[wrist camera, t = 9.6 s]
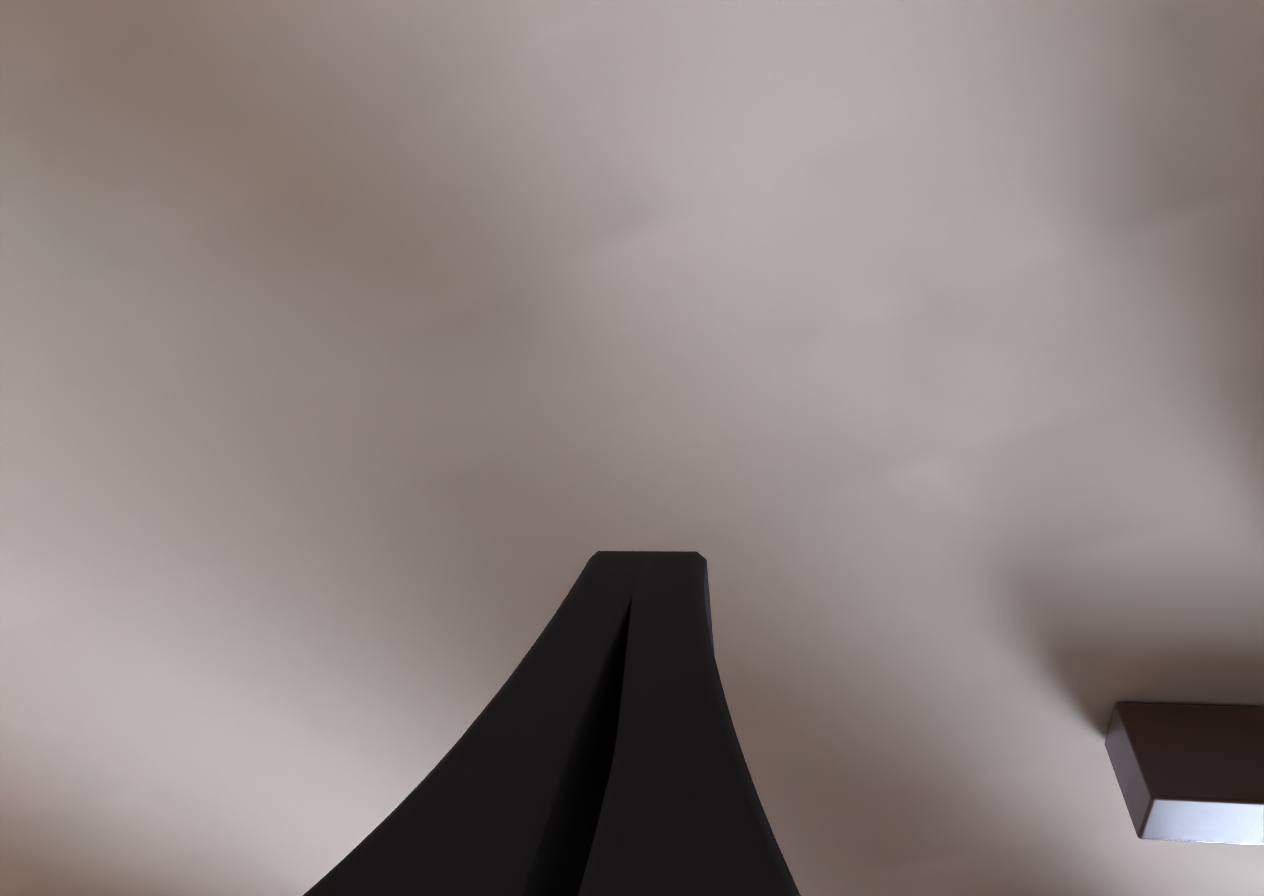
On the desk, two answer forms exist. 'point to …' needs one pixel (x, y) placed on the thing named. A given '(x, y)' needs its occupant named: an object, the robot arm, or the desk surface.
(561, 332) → the desk surface
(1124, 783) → the frame
